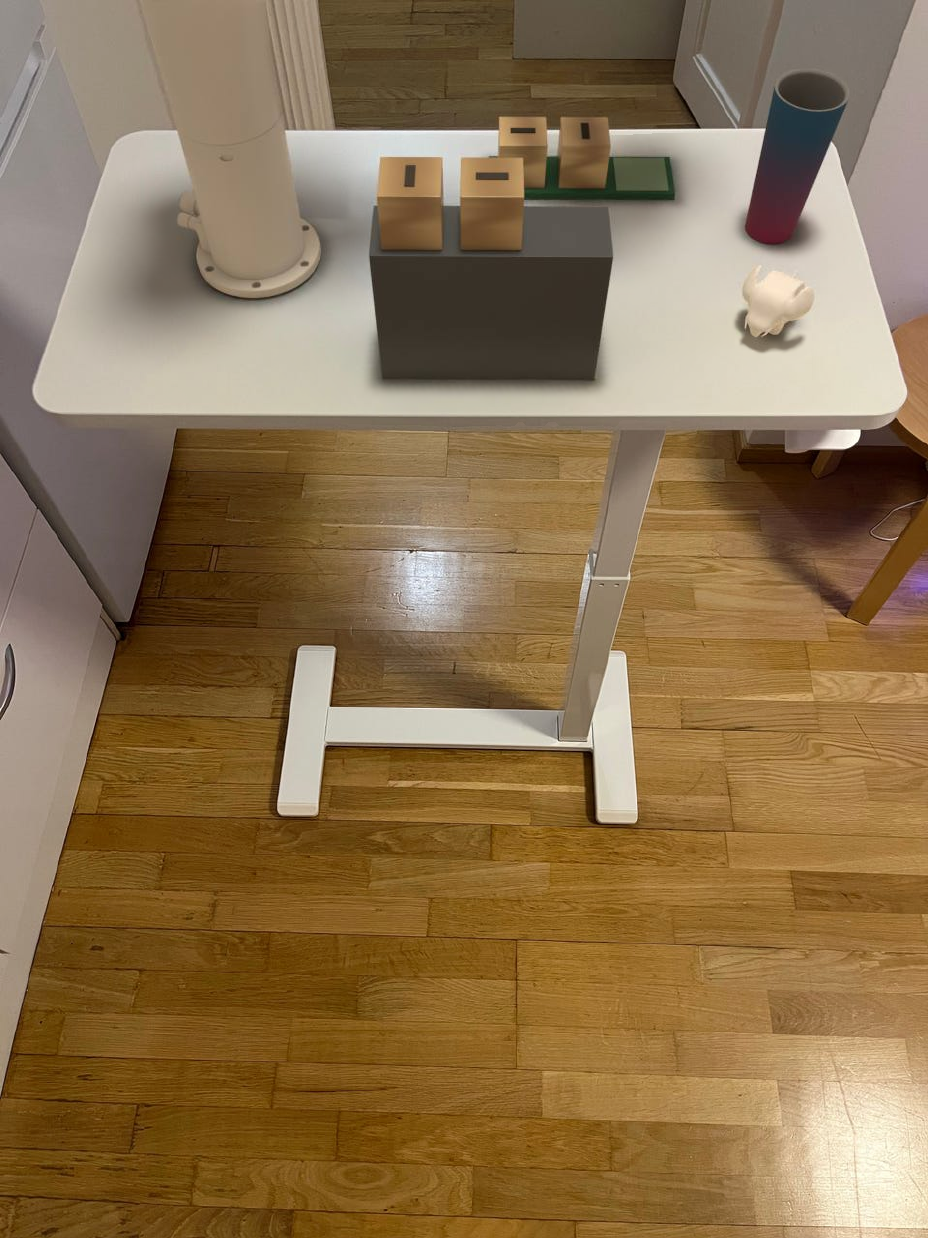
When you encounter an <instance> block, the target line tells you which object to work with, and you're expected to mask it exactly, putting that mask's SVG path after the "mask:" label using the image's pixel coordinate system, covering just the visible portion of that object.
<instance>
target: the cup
mask: <svg viewBox="0 0 928 1238" xmlns="http://www.w3.org/2000/svg"><path fill="white" fill-rule="evenodd" d="M850 95H851V91H850V88H849V86H848V84H847V83H846V82H845V81H844V80H843V79H842V78H841V77H839V76H837V75H836V74H834V73H831V72H830V71H827V70H823V69H817V68H808V67H804V68H796V69H791V70H788V71H786V72H783V73H782V74H781V75H779V76H778V77H777V79H776V80H775V83H774V87H773V92H772V96H771V100H770V106H769V109H768V110H769V111H768V115H767V121H766V124H765V129H764V134H763V139H762V144H761V149H760V153H759V158H758V161H757V167H756V172H755V177H754V181H753V186H752V190H751V196H750V201H749V205H748V210H747V215H746V220H745V225H744V227H745V231H746V233H747V234H748V236H750V238H752V239H754V240H755V241H757V242H760V243H763V244H768V245H777V244H782V243H785V242H787V241H788V240H790V239H791V238H792V237H793V235H794V232H795V230H796V228H797V225H798V222H799V221H800V218H801V215H802V213H803V210H804V208H805V206H806V203H807V201H808V199H809V197H810V194H811V191H812V189H813V187H814V184H815V181H816V179H817V177H818V174H819V173H820V169H821V168H822V165H823V162H824V160H825V157H826V155H827V152H828V151H829V149H830V146H831V144H832V141H833V138H834V136H835V133H836V131H837V128H838V126H839V124H840V121H841V120H842V116H843V114H844V112H845V109H846V107H847V104H848V102H849V100H850Z"/></svg>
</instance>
